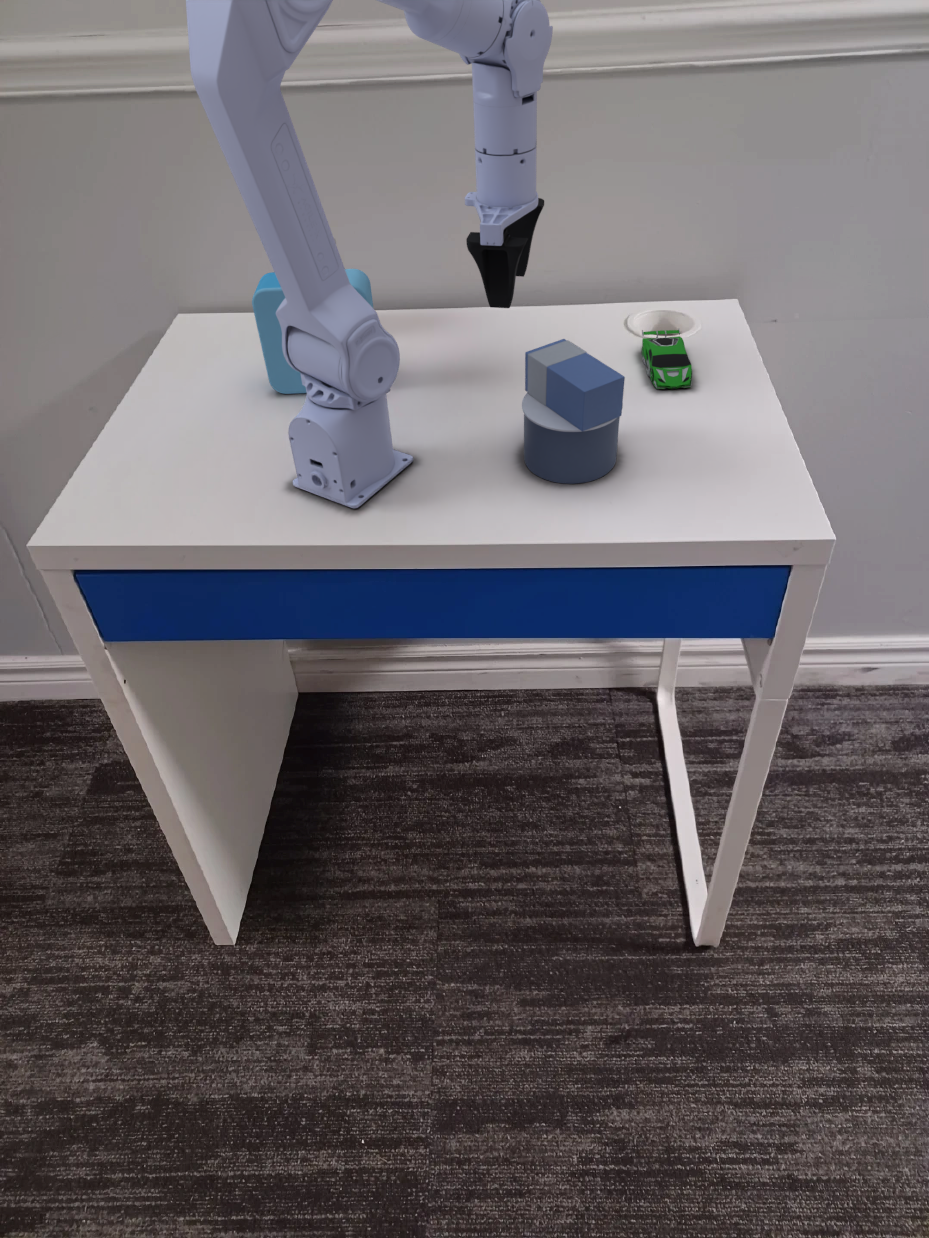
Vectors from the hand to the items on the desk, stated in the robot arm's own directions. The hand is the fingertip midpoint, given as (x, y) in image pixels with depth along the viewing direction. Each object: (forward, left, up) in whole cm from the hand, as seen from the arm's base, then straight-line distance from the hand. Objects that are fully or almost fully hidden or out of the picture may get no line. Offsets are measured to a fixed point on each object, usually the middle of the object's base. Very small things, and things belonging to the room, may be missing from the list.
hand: (507, 290), depth 91 cm
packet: (-10, -13, -4) cm, 17 cm away
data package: (-10, +18, -11) cm, 23 cm away
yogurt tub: (-10, -13, -10) cm, 19 cm away
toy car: (+11, -14, -11) cm, 21 cm away
